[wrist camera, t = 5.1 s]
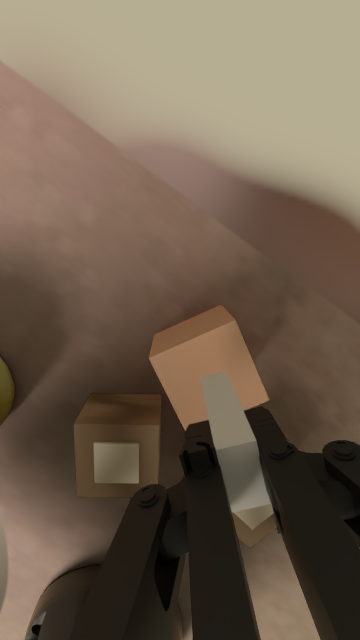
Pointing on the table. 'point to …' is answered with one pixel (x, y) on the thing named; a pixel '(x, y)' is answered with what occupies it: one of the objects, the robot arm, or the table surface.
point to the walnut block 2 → (254, 524)
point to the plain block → (204, 363)
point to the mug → (5, 391)
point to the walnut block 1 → (117, 444)
